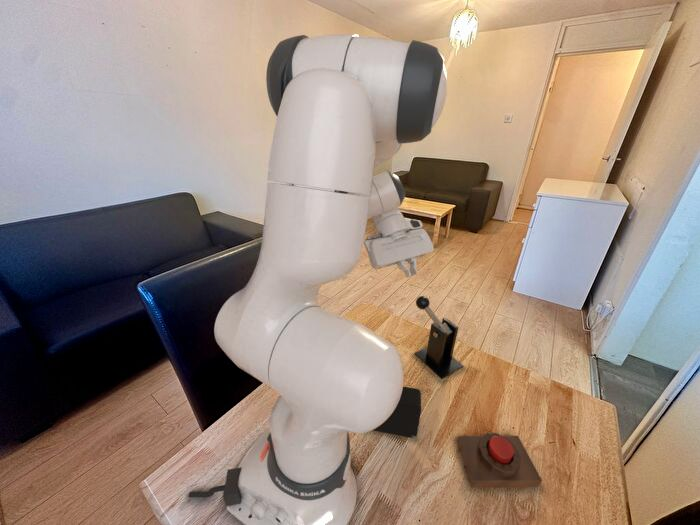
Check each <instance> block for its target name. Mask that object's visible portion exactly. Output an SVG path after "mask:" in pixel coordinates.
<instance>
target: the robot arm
mask: <svg viewBox="0 0 700 525" xmlns="http://www.w3.org/2000/svg"><path fill="white" fill-rule="evenodd" d="M265 76H266V77H265V78H266V79H265V81H266V82H265V84H266V91H267V96H268V101H269V103H270V106H271V108H272V110H273V112H274V115H275V116H276V120H275V124H274V130H273V135H272V140H271V146H270V153H269V160H268V170H267V183H266V192H265V193H266V195H265V205H264V206H265V207H264V218H263V227H262V236H261V244H260V250H259V254H258V258H257V262H256V265H255V267H254V270H253V273H252V275H251V276H250V278H249V280H248V282H247V283H246V284H245V286H244V287H243V288H242V289H240V290H238V291H236V292H235V293H234V294H232V295H231V296H230V297H229V298H228V299H227V300H226V301H225V302H224V303H223V304H222V306H221V308H220V310H219V312H218V313H217V316H216V318H215V322H214V328H213V332H214V333H213V334H214V339H215V342H216V343H217V346H219V348H220V349H221V350H222V351H223V352H224V354H225V355H226V356H227V357H228V358H229V360H231V362H233V364H235V365H236V367H238V368H239V369H241V370H242V371H244V372H245V373H247V374H249V375H250V376H252V377H253V378H255V379H257V380H258V381H259V382H261V383H262V384H264V385H266V386H267V387H268V388H270V389H272V390H273V391H274V392H276V393H277V394H278V395H279V396H278V397H277V399H276V401H275V402H274V405H273V407H272V410H271V412H270V414H269V415H270V416H269V423H268V426H269V428H267V429H266V430H265V431H263V433H262V434H261V435H260V436H259V437H258V438H257V440H256V441H255V442H254V443H253V444H252V445H251V447H250V448H249V449H248V451H246V453H245V454H244V456H243V458H242V459H241V461H240V463H239V465H238V467H234V468H231V469H227V472H226V476H225V482H224V484H223V485H218V486H213V487H211V488H209V490H208V491H189V493H188V498H209V497H212V496H214V494H215V493H218V492H223V494H222V499H223V501H224V504H225V506H226V510H227V511H228V513H230V514H231V515H232V516H233V517H235V518H236V519H237V520H238V521H240V522H241V523H242V524H243V525H348V523H349V521H350V520H351V518H352V516H353V513H354V511H355V508H356V503H357V499H358V486H357V480H356V476H355V473H354V470H353V468H352V467H351V463H352V452H351V441H350V440H351V439H350V435H349V434H350V433H353V434H360V435H363V434H366V433H369V432H371V431H373V429H375V428H377V427H378V426H380V425H381V424H382V423H384V422H385V421H386V420H387V419H388V418H389V416H390V415H391V414H392V413H393V411H394V410H395V408H396V406H397V404H398V402H399V400H400V397H401V394H402V390H403V387H404V381H405V379H404V378H405V372H404V366H403V361H402V358H401V354H400V352H399V350H398V348H397V346H396V345H394V344H392V343H391V342H390V341H389V340H387V339H386V338H384V337H383V336H381V335H380V334H379V333H377V332H375V331H374V330H372V329H370V328H369V327H367V326H366V325H364V324H362V323H360V322H357V321H355V320H353V319H350V318H347V317H345V316H343V315H339V314H337V313H335V312H333V311H330V310H328V309H324V308H322V307H321V306H320V305H319V302H318V297H319V291H320V289H321V287H322V285H327V284H330V283H332V282H336V281H340V280H341V279H344V278H345V277H346V276H348V275H350V274H351V273H352V272H353V271H354V270H355V268H356V267H357V266H358V265H359V262H360V261H361V259H362V256H363V250H364V248H365V250H366V251H367V256H368V258H369V259H368V260H369V262H370V266H371V268H372V269H374V270H376V271H378V270H381V269H385V268H387V267H392V266H395V265H397V268H398V269H399V270H401V272H402V273H404V276H405V277H406V278H411V277H414V276H416V275H418V274H419V272H418V269H417V259H419V258H422V257H425V256H428V255H430V254H431V253H433V252H434V250H435V249H434V247H435V246H434V244H433V241H432V239H431V237H430V236H429V233H428V232H427V230H425V229H424V228H423V226H424V225H423V222H422V221H421V220H418V219H412V218H408V217H404V215H403V212H401V211H400V209H399V207H401V206H402V204H403V202H404V200H405V199H406V198H405V197H406V190H405V188H404V186H403V183H402V181H401V180H400V177H399V176H398V175H397V174H395V173H393V172H391V171H388V170H387V171H384V172H381V173H378V174H376V175H375V169H376V168H378V167H379V166H381V165H383V164H385V163H386V162H388V161H389V160H391V159H392V158H393V157H394V156H395V155H396V154H397V153H398V152H399V151H400V149H401V147H402V145H403V144H410V143H411V144H412V143H417V142H421V141H424V139H426V137H428V136H429V135H430V134H431V133H432V131H433V130H432V129H433V128H434V126H435V125H436V124H437V122H438V121H439V119H440V117H441V114H442V113H443V110H444V108H445V105H446V101H447V95H448V76H447V70H446V67H445V57H444V56H443V55H442V53H441V52H440V50H439V48H438V47H437V46H434V45H432V44H429V43H427V42H423V41H421V40H415V39H413V40H411V42H410V43H409V42H406V41H401V40H396V39H389V38H382V37H372V36H360V35H358V34H357V33H340V34H326V35H318V36H312V37H309V36H307V35H306V34H300V35H295V36H292V37H289V38H286V39H283V40H281V41H279V42H278V43H277V45H276V46H275V48H274V50H273V51H272V53H271V55H270V56H269V59H268V62H267V67H266V75H265ZM269 181H270V182H269ZM276 182H277V183H276ZM369 219H371V220H372V223H373V228H374V230H375V233H376V234H374V235H369V236H367V237H366V238H365V236H366V232H367V231H366V230H367V224H368V220H369ZM407 264H408V265H409V267H408V266H407Z"/></svg>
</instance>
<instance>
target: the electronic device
mask: <svg viewBox="0 0 700 525" xmlns="http://www.w3.org/2000/svg"><path fill="white" fill-rule="evenodd" d="M421 413H422V391H421V390H420V389H418V388H415V387H409V386H403V390H402V394H401V397H400V400H399V402H398V404H397V406H396V408H395V410H394V411H393V413H392V414H391V415H390V416H389V418H388V419H387V420H386V421H385V422H384V423H382V424H381V425H380V426H378V427H377V428H375V429H373V430H372V431H375V432H378V433H383V434H389V435H396V436H400V437H404V438H410V439H413V437H417V436H418V431H419V427H420V426H419V425H420V420H421Z"/></svg>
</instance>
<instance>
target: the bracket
mask: <svg viewBox="0 0 700 525" xmlns="http://www.w3.org/2000/svg"><path fill="white" fill-rule="evenodd" d="M441 323H442V324H444V323H446V324H447V325H448V327H449V328H450V329H451V331H452V333H451V334H450V335H449V336H448V337H446V336H447V332H446V331H445V330H443V329H442V328H441V327H439V326H438V325H437V324H435V323H434V322H432V323H430V329H429V336H428V342H427V346H426V347H424V348H422V349H420V350H418V351H416V352H414V356H416V357H417V358H418V359H419V360H420V361H421V363H423V364H424V365H425V366H426V367H428V368H429V369H430V370H431V371H432V372H433V373H434V374H435V375H436V376H437V377H438V378H439V379H440V380H443V379H445V378H447V377H449V376H450V375H452V374H453V373H456V372H457V371H459V370H461V369H462V368H464V365H463V364H461V362H460V361H458V360H457V359H456V358H454V357H453V355H454V349H455V346H456V342H457V341H456V340H457V336H458V332H459V329H460V328H459V325H457V324H455V323H454V322H452V321H451V320H450V319H449V318H446V317H443V318H442V320H441Z"/></svg>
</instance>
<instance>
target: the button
mask: <svg viewBox="0 0 700 525" xmlns="http://www.w3.org/2000/svg"><path fill="white" fill-rule="evenodd" d="M488 452H489V454H490V455H491V457H492V458H493V459H494V460H496V461H497V462H499V463H502V464H507V463H509V462H510V461H511V459H512V457H513V454H514V450H513V447H512V445H511V444H510V443H509V442H508V441H507V440H506V439H504V438H502V437H500V436H494V437H492V438H491V439H490V441H489V444H488Z"/></svg>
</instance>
